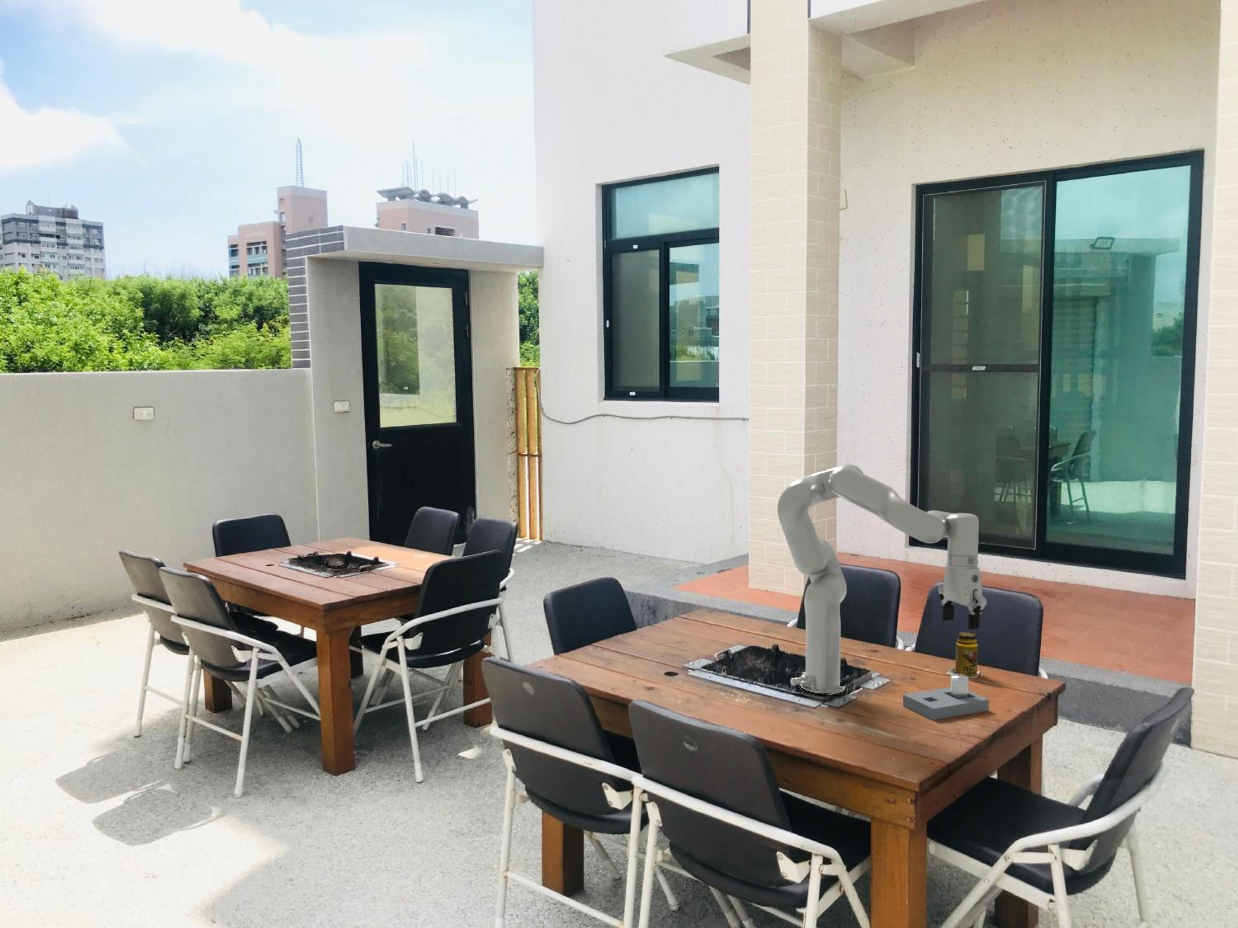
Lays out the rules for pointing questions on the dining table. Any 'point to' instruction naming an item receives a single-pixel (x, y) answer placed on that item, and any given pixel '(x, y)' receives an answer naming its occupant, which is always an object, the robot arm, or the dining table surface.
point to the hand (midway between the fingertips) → (960, 624)
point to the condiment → (966, 655)
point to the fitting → (959, 686)
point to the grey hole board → (944, 703)
